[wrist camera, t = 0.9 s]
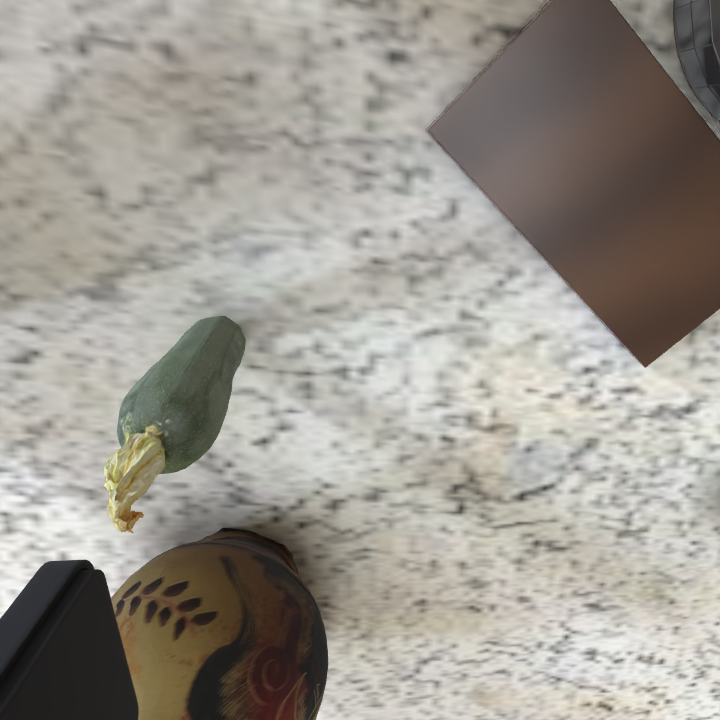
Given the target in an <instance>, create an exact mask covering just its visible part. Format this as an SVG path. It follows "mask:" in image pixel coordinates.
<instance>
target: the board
mask: <svg viewBox="0 0 720 720" xmlns="http://www.w3.org/2000/svg"><path fill="white" fill-rule="evenodd" d="M426 132H427V133H428V134H429V135H430V136H431V137H432V138H433V139H434V140H435V142H436V143H437V144H438V145H439V146H440V147H441V148H442V149H443V150H444V151H445V152H446V153H447V155H448V156H449V157H450V158H451V159H452V160H453V161H454V162H455V163H456V164H457V165H458V167H459V168H460V169H461V170H462V171H463V172H464V173H465V174H466V175H467V176H468V177H469V178H470V180H471V181H472V182H473V183H474V184H475V185H476V186H477V187H478V188H479V189H480V190H481V192H482V193H483V194H484V195H485V196H486V197H487V198H488V199H489V200H490V201H491V202H492V203H493V205H494V206H495V207H496V208H497V209H498V210H499V211H500V212H501V213H502V214H503V215H504V216H505V218H506V219H507V220H508V221H509V222H510V223H511V224H512V225H513V226H514V227H515V228H516V230H517V231H518V232H519V233H520V234H521V235H522V236H523V237H524V238H525V239H526V240H527V241H528V243H529V244H530V245H531V246H532V247H533V248H534V249H535V250H536V251H537V252H538V253H539V255H540V256H541V257H542V258H543V259H544V260H545V261H546V262H547V263H548V264H549V265H550V266H551V268H552V269H553V270H554V271H555V272H556V273H557V274H558V275H559V276H560V277H561V278H562V280H563V281H564V282H565V283H566V284H567V285H568V286H569V287H570V288H571V289H572V290H573V291H574V293H575V294H576V295H577V296H578V297H579V298H580V299H581V300H582V301H583V302H584V303H585V305H586V306H587V307H588V308H589V309H590V310H591V311H592V312H593V313H594V314H595V315H596V316H597V318H598V319H599V320H600V321H601V322H602V323H603V324H604V325H605V326H606V327H607V328H608V330H609V331H610V332H611V333H612V334H613V335H614V336H615V337H616V338H617V339H618V340H619V341H620V343H621V344H622V345H623V346H624V347H625V348H626V349H627V350H628V351H629V352H630V353H631V355H632V356H633V357H634V358H635V359H636V360H637V361H638V362H639V363H640V364H642V365H643V366H644V367H647V366H648V365H649V364H651V363H652V362H653V361H654V360H656V359H657V358H658V357H659V356H661V355H662V354H663V353H664V352H666V351H667V350H668V349H670V348H671V347H672V346H673V345H675V344H676V343H677V342H678V341H680V340H681V339H682V338H683V337H685V336H686V335H687V334H688V333H690V332H691V331H692V330H693V329H695V328H696V327H697V326H698V325H700V324H701V323H702V322H703V321H705V320H706V319H707V318H709V317H710V316H711V315H712V314H714V313H715V312H716V311H717V310H719V309H720V140H719V139H718V138H717V137H716V135H715V134H714V133H713V131H712V130H711V129H710V128H709V126H708V125H707V124H706V123H705V121H704V120H703V119H702V117H701V116H700V115H699V114H698V112H697V111H696V110H695V108H694V107H693V106H692V105H691V103H690V102H689V101H688V100H687V98H686V97H685V96H684V94H683V93H682V92H681V91H680V89H679V88H678V87H677V85H676V84H675V83H674V82H673V80H672V79H671V78H670V76H669V75H668V74H667V73H666V71H665V70H664V69H663V68H662V66H661V65H660V64H659V62H658V61H657V60H656V59H655V57H654V56H653V55H652V53H651V52H650V51H649V50H648V48H647V47H646V46H645V44H644V43H643V42H642V41H641V39H640V38H639V37H638V36H637V34H636V33H635V32H634V30H633V29H632V28H631V27H630V25H629V24H628V23H627V21H626V20H625V19H624V18H623V16H622V15H621V14H620V12H619V11H618V10H617V9H616V7H615V6H614V5H613V4H612V2H611V1H610V0H551V1H550V2H549V3H548V4H547V5H546V6H545V7H544V8H543V9H542V10H541V11H540V12H539V13H538V14H537V15H536V16H535V17H534V18H533V19H532V20H531V21H530V22H529V23H528V24H527V25H526V26H525V28H524V29H523V30H522V31H521V32H520V33H519V34H518V35H517V36H516V37H515V38H514V39H513V40H512V41H511V42H510V43H509V44H508V45H507V46H506V47H505V48H504V49H503V50H502V51H501V52H500V53H499V54H498V56H497V57H496V58H495V59H494V60H493V61H492V62H491V63H490V64H489V65H488V66H487V67H486V68H485V69H484V70H483V71H482V72H481V73H480V74H479V75H478V76H477V77H476V78H475V79H474V80H473V81H472V83H471V84H470V85H469V86H468V87H467V88H466V89H465V90H464V91H463V92H462V93H461V94H460V95H459V96H458V97H457V98H456V99H455V100H454V101H453V102H452V103H451V104H450V105H449V106H448V107H447V108H446V110H445V111H444V112H443V113H442V114H441V115H440V116H439V117H438V118H437V119H436V120H435V121H434V122H433V123H432V124H431V125H430V126H429V127H428V128H427V129H426Z"/></svg>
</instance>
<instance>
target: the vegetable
mask: <svg viewBox="0 0 720 720" xmlns="http://www.w3.org/2000/svg"><path fill="white" fill-rule="evenodd" d="M245 343H246V340H245V337H244V335H243V333H242V330H241V328H240V327H239V326H238V324H236V323H235V322H233V321H232V320H230V319H229V318H227V317H225V316H219V317H212V318H205V319H202V320H200V321H198V322H196V323H195V324H194V325H193V326H192V327H191V328H190V329H189V330H187V331H186V332H185V333H184V335H183V336H182V337H181V339H180V340H179V341H178V342H177V343H176V344H175V345H174V346H173V347H172V348H171V349H170V350H169V352H168V353H167V354H166V355H165V356H163V357H162V358H161V360H160V361H158V362H157V363H156V364H155V365H154V366H152V367H151V369H150V370H149V371H148V372H147V373H146V374H145V375H144V376H143V377H142V378H141V379H140V380H139V381H138V382H137V383H136V384H135V385H134V386H133V388H132V389H131V390H130V391H129V393H128V394H127V395H126V397H125V398H124V400H123V402H122V405H121V408H120V412H119V419H118V427H117V434H118V439H119V443H120V445H121V447H122V449H119V450H116V451H115V452H113V453H111V454H110V455H109V456H108V459H107V461H106V463H105V467H104V473H105V477H106V481H107V482H106V483H104V486H105V487H106V488H107V490H108V491H109V492H110V493H109V496H110V499H109V504H108V508H106V510H107V512H108V514H109V517H110V519H111V520H112V522H115V523H114V526H115V527H116V528H117V529H118V530H120V531H121V532H123V531H126V530H127V531H129V532H132V531H131V529H132V528H133V526H134V524H135V522H136V521H137V520H138V519H139V518H143V516H144V514H143V513H142V512H135V511H131V512H130V508H131V505H132V504H133V503H134V502H135V501H136V500H137V499H139V498H140V497H141V496H142V495H144V494H145V493H146V492H147V490H148V488H149V487H150V485H151V483H152V482H153V480H154V478H155V477H156V476H157V475H158V474H165V473H174V472H178V471H180V470H183V469H185V468H187V467H188V466H190V465H191V464H192V463H194V462H195V461H196V460H198V459H199V458H200V457H201V456H202V455H204V454H205V453H206V452H207V451H208V450H209V449H210V447H211V446H212V444H213V443H214V441H215V440H216V438H217V436H218V434H219V432H220V429H221V427H222V424H223V421H224V418H225V415H226V412H227V409H228V404H229V399H230V395H231V391H232V379H233V377H234V374H235V372H236V370H237V368H238V367H239V365H240V362H241V359H242V356H243V354H244V350H245ZM132 533H134V532H132Z"/></svg>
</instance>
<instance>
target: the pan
mask: <svg viewBox="0 0 720 720" xmlns="http://www.w3.org/2000/svg"><path fill="white" fill-rule="evenodd" d="M674 31H675V38H676V44H677V51H678V54H679V58H680V61H681V65H682V68H683V71H684V73H685V75H686V78H687V80H688V82H689V84H690V86H691V88H692V90H693V91H694V93H695V94H696V96H697V97H698V99H699V100H700V102H701V103H702V104H703V106H704V107H705V108H706V109H707V110H708V111H709V112H710V113H711V114H712V115H713V116H714V117H715V118H716V119H717V120H719V121H720V0H675V3H674Z"/></svg>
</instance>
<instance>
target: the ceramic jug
mask: <svg viewBox="0 0 720 720" xmlns="http://www.w3.org/2000/svg"><path fill="white" fill-rule="evenodd" d="M111 601H112V605H113V609H114V613H115V616H116V620H117V624H118V628H119V632H120V636H121V639H122V643H123V647H124V651H125V655H126V659H127V662H128V666H129V670H130V674H131V678H132V682H133V686H134V689H135V693H136V697H137V701H138V706H139V716H138V720H316V717H317V714H318V711H319V708H320V705H321V702H322V698H323V694H324V690H325V685H326V679H327V670H328V649H327V639H326V633H325V628H324V624H323V621H322V618H321V615H320V612H319V610H318V607H317V605H316V602H315V600H314V598H313V596H312V594H311V593H310V591H309V590H308V588H307V587H306V585H305V584H304V582H303V581H302V580H301V578H300V577H299V576H298V570H297V568H296V565H295V563H294V561H293V556H292V554H291V553H290V552H289V550H288V549H287V548H286V547H285V545H282V544H279V543H277V542H275V541H273V540H271V539H268V538H266V537H263V536H260V535H258V534H256V533H254V532H250V531H245V530H239V529H229V528H223V529H221V530H220V531H218V532H217V533H215V534H214V535H212V536H209V537H205V538H204V539H202V540H201V541H199V542H192V543H188V544H183V545H180V546H177V547H175V548H173V549H170V550H168V551H166V552H164V553H162V554H161V555H159V556H157V557H155V558H154V559H152V560H151V561H149V562H148V563H147V564H146V565H144V566H143V567H142V568H140V569H139V570H138V571H137V572H135V573H134V574H133V575H131V576H130V577H129V578H128V580H127V581H126V582H125V583H124V584H123V585H122V586H121V587H120V588H119V590H118V591H117V592H116V593H115V594H114V595H113V596H112V597H111Z"/></svg>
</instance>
